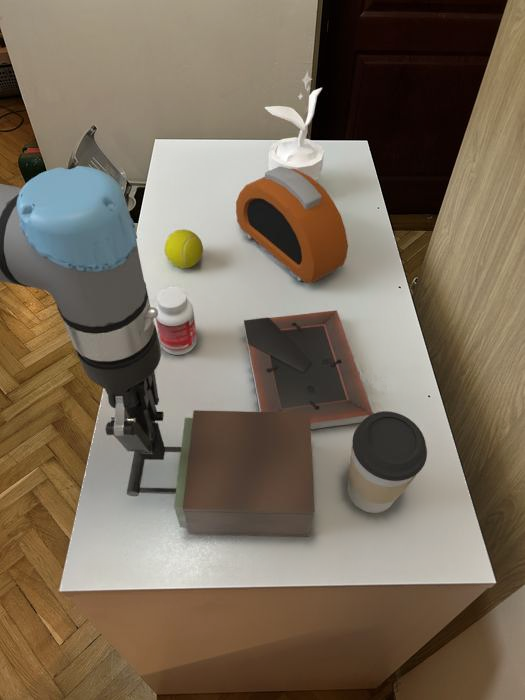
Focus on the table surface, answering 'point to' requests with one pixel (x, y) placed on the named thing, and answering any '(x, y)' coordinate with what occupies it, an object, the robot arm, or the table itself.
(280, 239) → the alarm clock
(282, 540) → the table surface
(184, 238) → the tennis ball
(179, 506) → the drawer
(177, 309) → the pill bottle
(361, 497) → the coffee cup
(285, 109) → the potted plant
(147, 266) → the table surface
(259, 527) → the cabinet
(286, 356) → the picture frame
